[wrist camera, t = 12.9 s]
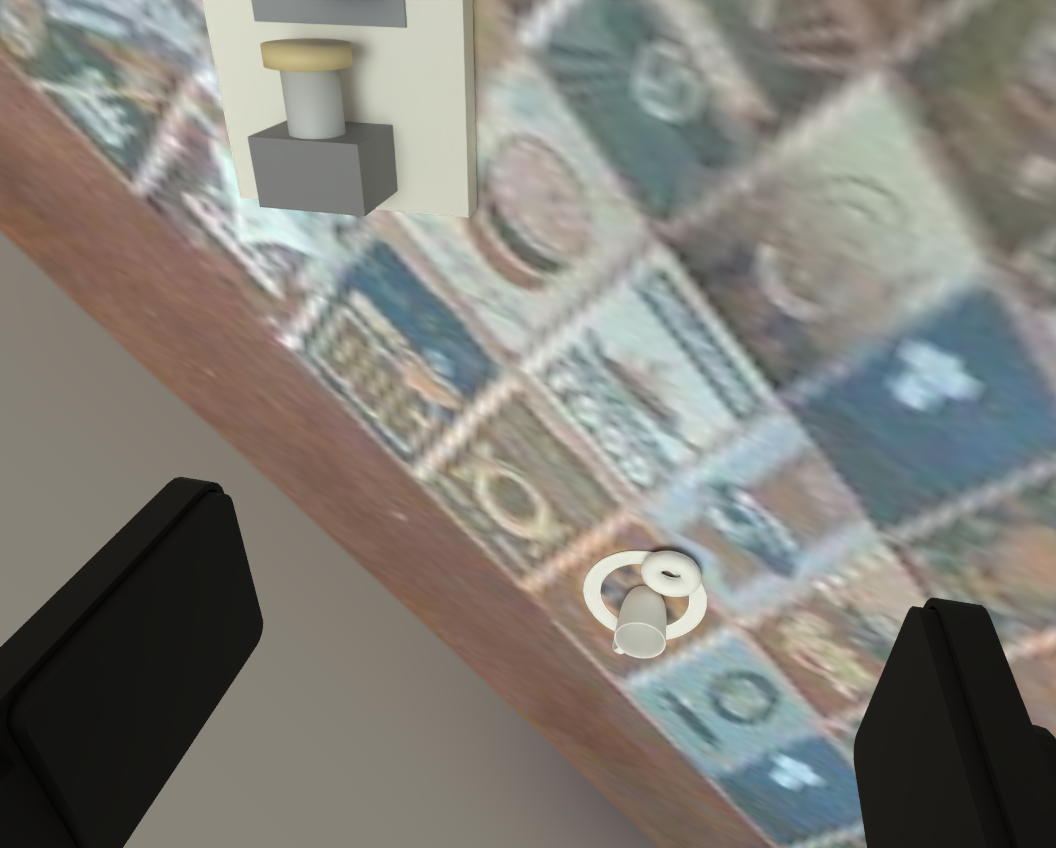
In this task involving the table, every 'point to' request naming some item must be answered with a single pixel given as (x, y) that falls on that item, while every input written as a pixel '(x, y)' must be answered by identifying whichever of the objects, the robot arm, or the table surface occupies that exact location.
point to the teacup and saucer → (648, 600)
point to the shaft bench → (349, 103)
